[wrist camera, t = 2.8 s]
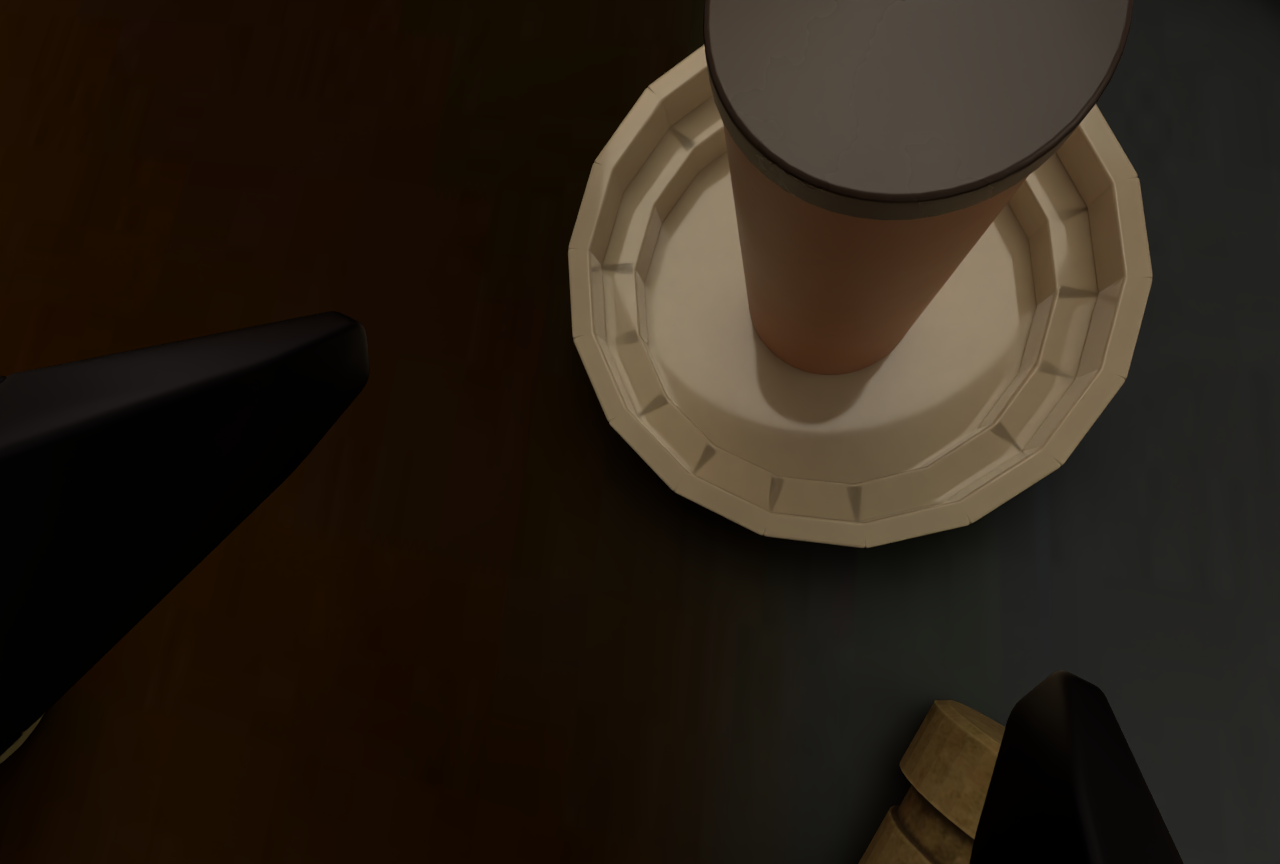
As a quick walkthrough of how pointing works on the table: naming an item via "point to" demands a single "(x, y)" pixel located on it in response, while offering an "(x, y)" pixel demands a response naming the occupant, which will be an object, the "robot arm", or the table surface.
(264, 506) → the table surface
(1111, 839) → the robot arm
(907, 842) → the gavel
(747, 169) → the copper tin
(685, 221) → the bowl
